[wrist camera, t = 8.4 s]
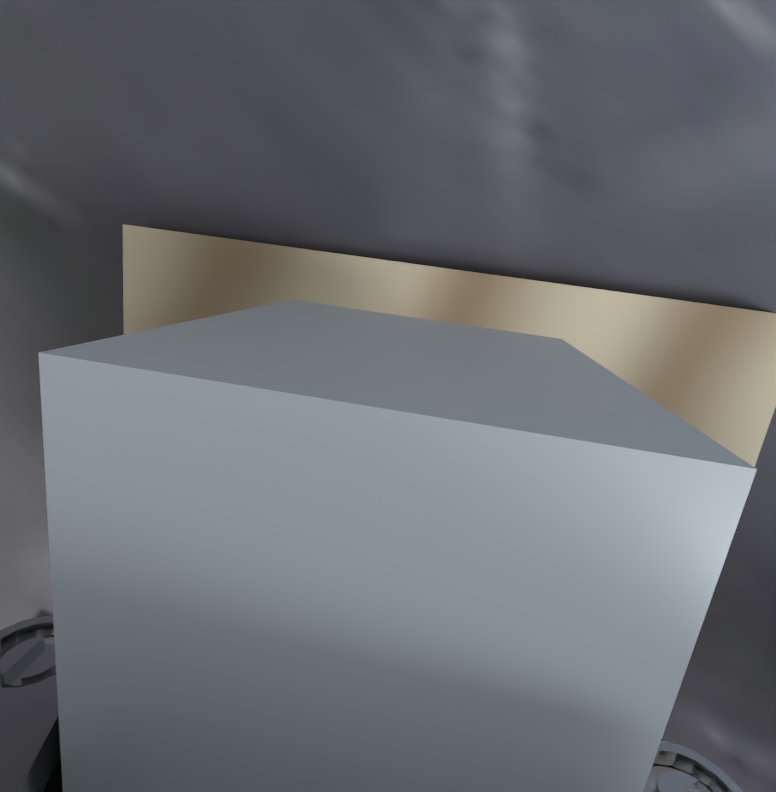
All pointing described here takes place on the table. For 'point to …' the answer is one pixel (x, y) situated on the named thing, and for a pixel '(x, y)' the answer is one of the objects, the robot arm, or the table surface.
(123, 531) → the block
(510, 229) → the table surface
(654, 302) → the board
